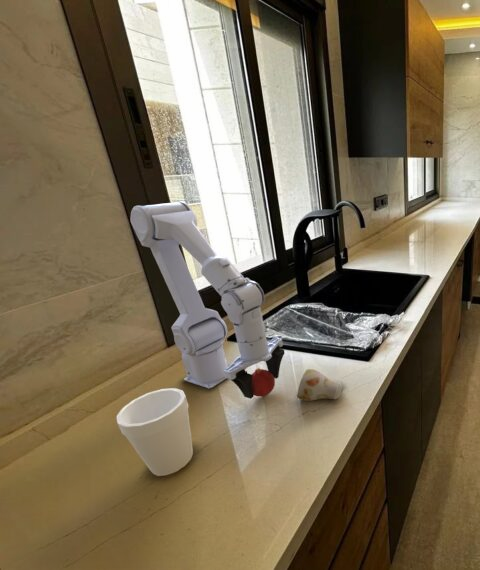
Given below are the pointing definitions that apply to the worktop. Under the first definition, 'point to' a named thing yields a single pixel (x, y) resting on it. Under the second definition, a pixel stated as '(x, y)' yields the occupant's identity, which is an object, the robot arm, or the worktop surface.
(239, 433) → the worktop surface
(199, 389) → the worktop surface
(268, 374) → the red round piece
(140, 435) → the foam cup
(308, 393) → the white spotted tapered part
